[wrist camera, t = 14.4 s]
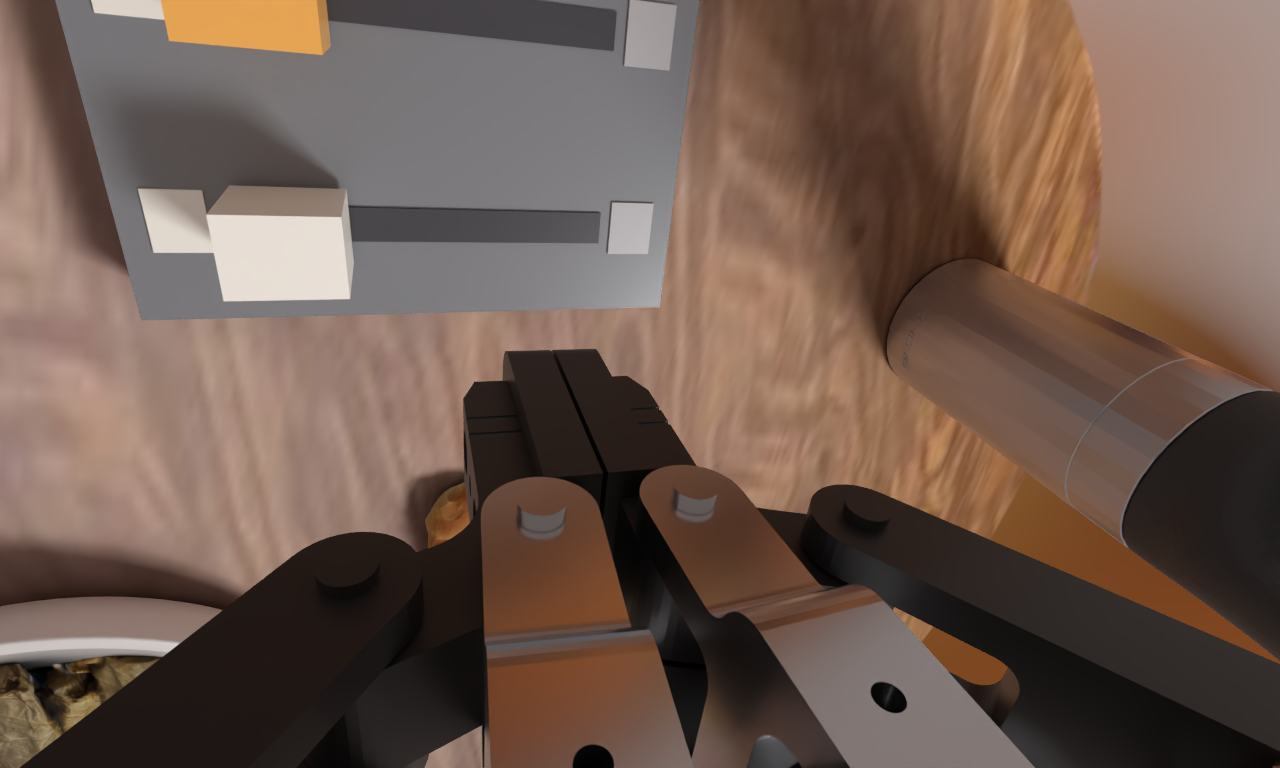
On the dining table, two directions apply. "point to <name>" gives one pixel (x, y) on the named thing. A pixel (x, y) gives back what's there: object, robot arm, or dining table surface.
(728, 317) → the dining table surface
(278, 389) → the dining table surface
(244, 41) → the slider
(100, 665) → the bowl
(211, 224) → the on slider
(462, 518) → the pastry
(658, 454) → the robot arm
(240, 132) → the switch panel
